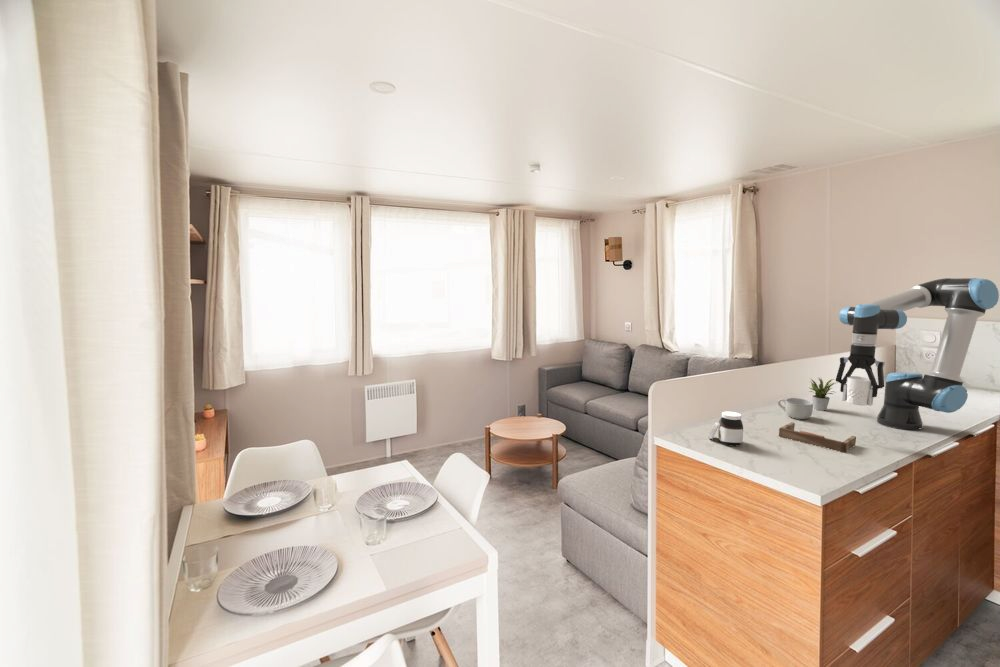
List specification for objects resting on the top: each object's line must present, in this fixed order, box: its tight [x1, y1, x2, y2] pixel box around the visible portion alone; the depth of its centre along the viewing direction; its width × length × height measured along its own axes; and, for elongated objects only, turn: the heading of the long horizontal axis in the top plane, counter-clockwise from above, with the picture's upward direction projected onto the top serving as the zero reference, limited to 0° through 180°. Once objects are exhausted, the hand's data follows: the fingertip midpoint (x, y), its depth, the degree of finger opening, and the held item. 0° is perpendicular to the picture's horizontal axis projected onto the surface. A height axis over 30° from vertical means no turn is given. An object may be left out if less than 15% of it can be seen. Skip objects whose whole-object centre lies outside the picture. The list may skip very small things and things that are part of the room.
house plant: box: [809, 377, 840, 412], centre depth 227 cm, size 14×14×16 cm
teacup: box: [777, 397, 814, 420], centre depth 216 cm, size 14×11×8 cm
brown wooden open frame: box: [778, 421, 857, 454], centre depth 185 cm, size 12×22×4 cm, turn 38°
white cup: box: [846, 375, 872, 406], centre depth 182 cm, size 8×8×10 cm
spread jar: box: [707, 410, 744, 447], centre depth 183 cm, size 12×11×12 cm
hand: (857, 402), depth 183 cm, fingers closed on white cup, 8 cm apart
